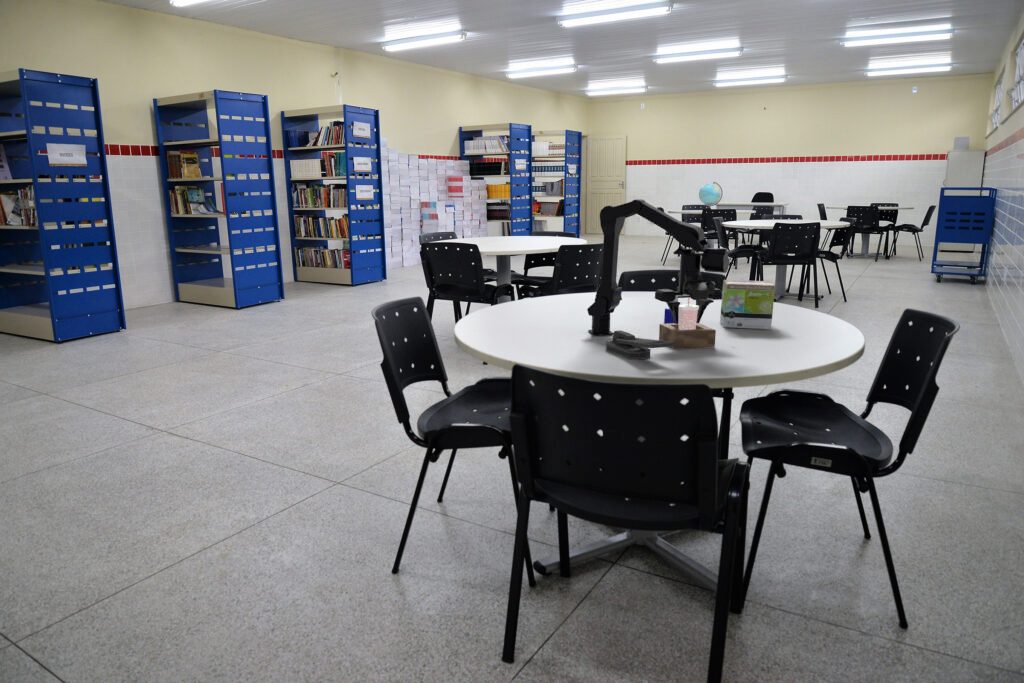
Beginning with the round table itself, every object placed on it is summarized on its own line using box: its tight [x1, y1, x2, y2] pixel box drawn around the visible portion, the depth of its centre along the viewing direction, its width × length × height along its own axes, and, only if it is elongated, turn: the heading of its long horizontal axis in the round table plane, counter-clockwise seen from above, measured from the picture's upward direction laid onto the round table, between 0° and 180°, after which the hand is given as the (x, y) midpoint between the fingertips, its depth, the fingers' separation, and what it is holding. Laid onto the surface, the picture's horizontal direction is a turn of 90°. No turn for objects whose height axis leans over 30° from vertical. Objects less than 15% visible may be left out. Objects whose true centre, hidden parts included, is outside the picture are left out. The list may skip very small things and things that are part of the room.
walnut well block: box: [658, 322, 717, 350], centre depth 199 cm, size 12×12×5 cm
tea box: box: [719, 279, 776, 331], centre depth 222 cm, size 15×10×15 cm, turn 80°
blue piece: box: [663, 307, 679, 324], centre depth 228 cm, size 12×4×6 cm, turn 152°
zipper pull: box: [605, 329, 676, 360], centre depth 184 cm, size 9×7×25 cm
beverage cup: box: [679, 298, 699, 330], centre depth 198 cm, size 6×6×14 cm
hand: (686, 323), depth 198 cm, fingers closed on beverage cup, 6 cm apart
